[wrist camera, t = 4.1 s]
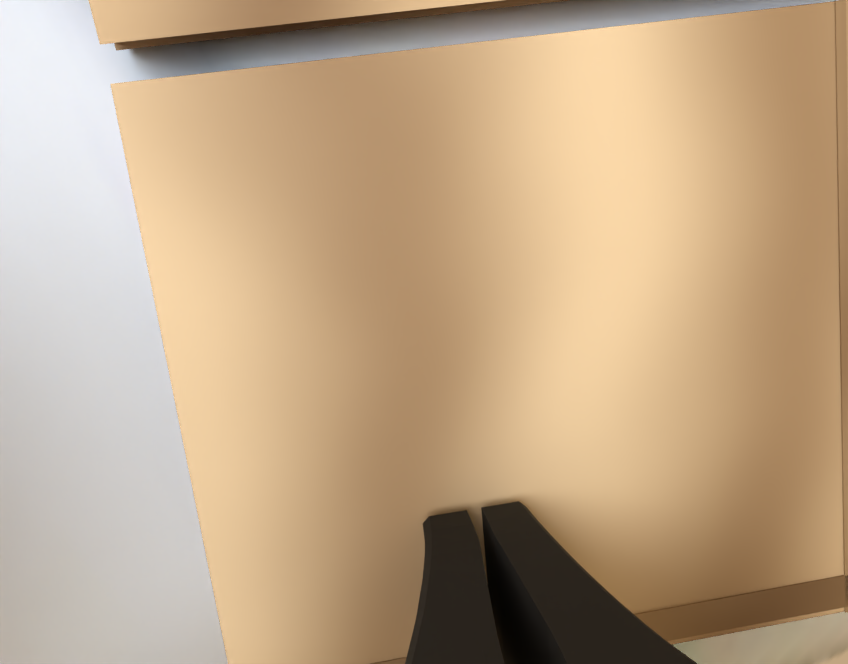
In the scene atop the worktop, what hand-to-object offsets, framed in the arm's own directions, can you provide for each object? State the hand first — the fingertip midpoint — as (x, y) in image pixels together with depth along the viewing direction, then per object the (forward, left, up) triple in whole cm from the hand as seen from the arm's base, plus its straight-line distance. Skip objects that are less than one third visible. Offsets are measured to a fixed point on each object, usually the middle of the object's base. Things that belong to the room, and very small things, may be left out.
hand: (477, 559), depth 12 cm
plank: (+5, +2, -2) cm, 6 cm away
